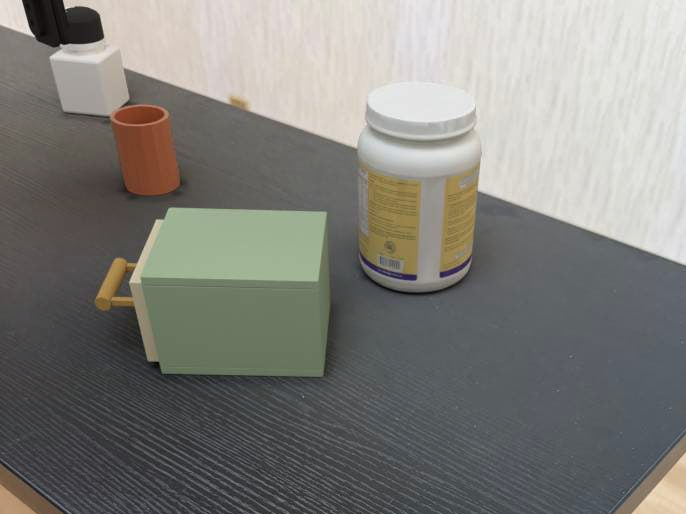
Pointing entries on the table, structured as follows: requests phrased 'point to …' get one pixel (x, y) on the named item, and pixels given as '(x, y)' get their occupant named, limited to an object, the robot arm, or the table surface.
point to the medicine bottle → (89, 67)
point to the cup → (146, 149)
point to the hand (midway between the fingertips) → (53, 42)
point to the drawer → (114, 282)
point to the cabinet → (239, 292)
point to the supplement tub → (418, 185)
